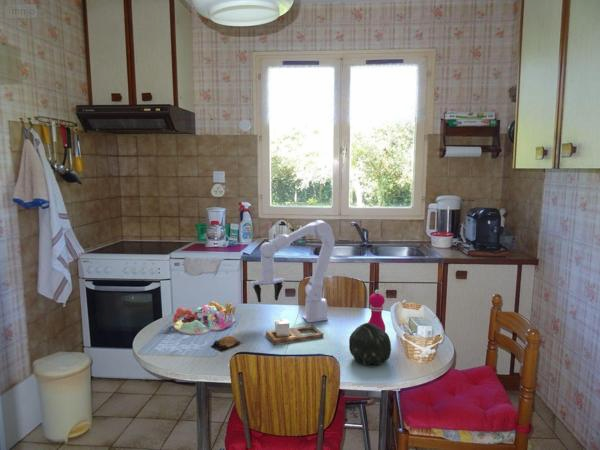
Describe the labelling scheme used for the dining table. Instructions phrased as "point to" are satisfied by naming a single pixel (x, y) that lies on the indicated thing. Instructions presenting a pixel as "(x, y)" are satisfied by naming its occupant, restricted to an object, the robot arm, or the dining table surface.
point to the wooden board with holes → (295, 335)
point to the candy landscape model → (204, 318)
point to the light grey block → (281, 328)
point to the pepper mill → (377, 309)
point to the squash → (370, 344)
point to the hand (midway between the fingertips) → (267, 300)
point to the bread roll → (226, 343)
